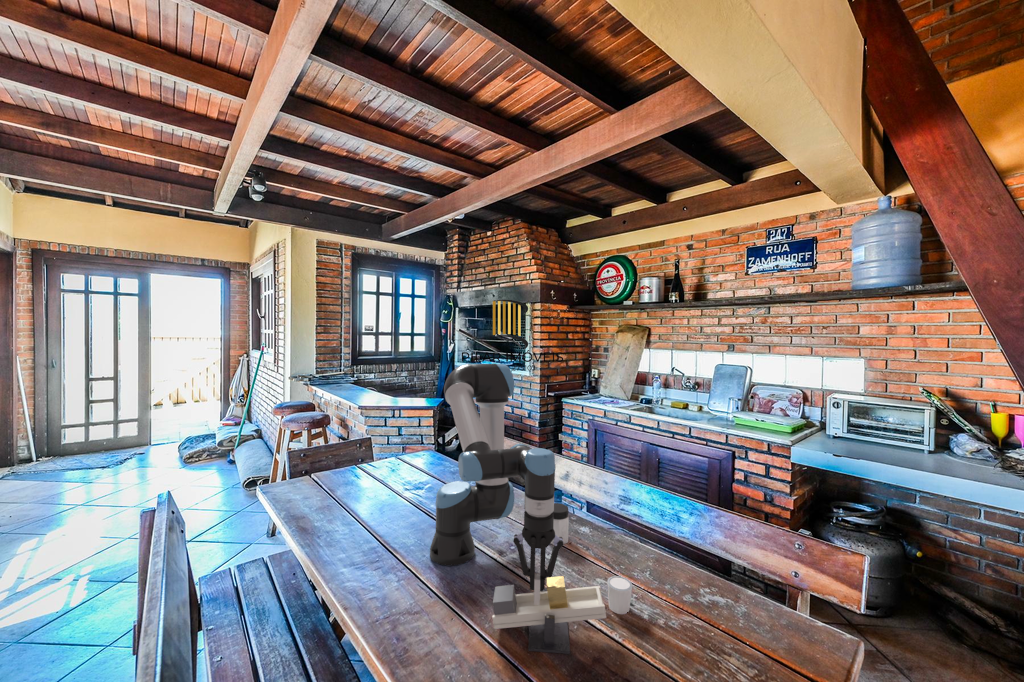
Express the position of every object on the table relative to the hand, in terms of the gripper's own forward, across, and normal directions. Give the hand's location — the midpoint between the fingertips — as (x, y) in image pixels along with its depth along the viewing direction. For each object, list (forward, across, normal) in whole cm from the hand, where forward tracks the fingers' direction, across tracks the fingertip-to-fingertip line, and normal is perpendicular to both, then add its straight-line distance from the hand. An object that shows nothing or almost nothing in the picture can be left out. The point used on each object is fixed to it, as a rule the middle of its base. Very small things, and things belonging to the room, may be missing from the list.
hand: (536, 601), depth 106 cm
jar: (+8, +7, +46) cm, 47 cm away
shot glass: (+8, +23, +11) cm, 27 cm away
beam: (+2, +3, 0) cm, 4 cm away
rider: (+1, +6, 0) cm, 6 cm away
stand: (+8, +3, 0) cm, 8 cm away
